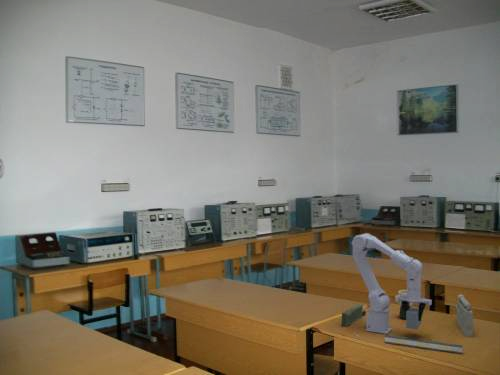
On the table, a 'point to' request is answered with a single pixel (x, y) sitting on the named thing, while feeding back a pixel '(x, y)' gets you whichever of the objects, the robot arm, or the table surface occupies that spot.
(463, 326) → the geiger counter
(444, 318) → the table surface
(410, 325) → the box
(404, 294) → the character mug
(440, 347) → the rail
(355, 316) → the handheld radio
